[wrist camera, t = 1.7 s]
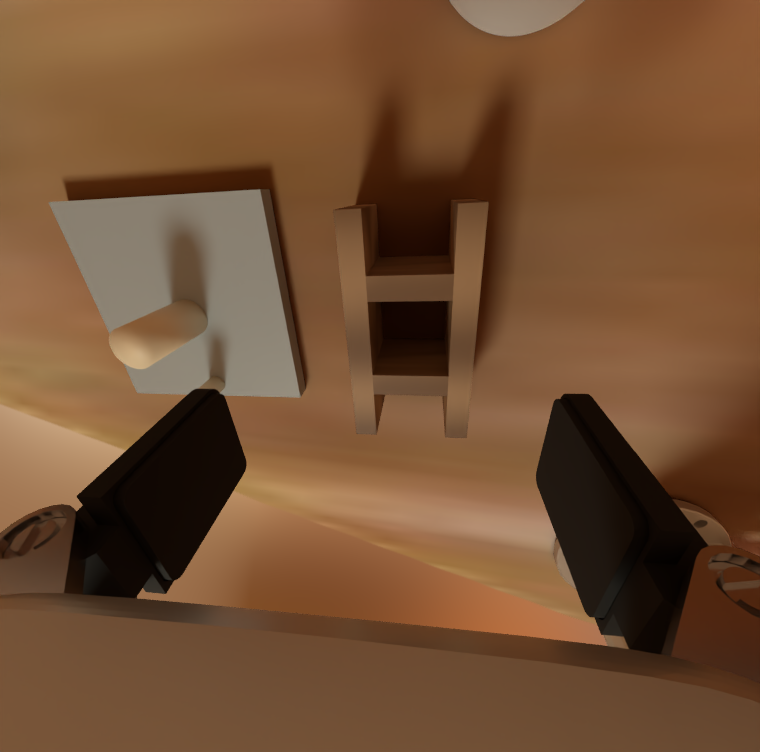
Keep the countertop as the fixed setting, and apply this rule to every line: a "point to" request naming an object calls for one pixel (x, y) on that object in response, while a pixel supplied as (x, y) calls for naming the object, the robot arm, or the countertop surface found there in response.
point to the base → (190, 290)
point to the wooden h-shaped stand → (411, 283)
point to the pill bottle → (513, 14)
